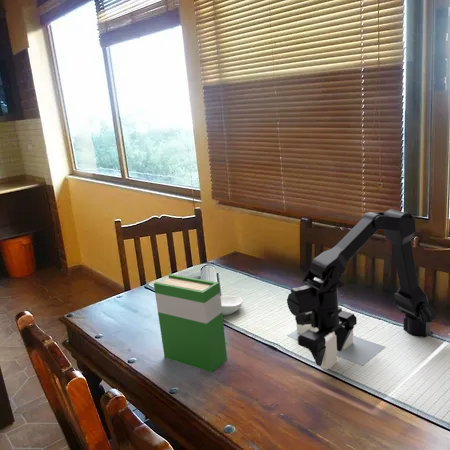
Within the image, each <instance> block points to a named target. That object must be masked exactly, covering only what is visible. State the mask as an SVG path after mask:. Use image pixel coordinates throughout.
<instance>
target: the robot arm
mask: <svg viewBox="0 0 450 450" xmlns="http://www.w3.org/2000/svg"><path fill="white" fill-rule="evenodd" d="M379 230H383V232H384V234H385V236H386V237H387V238H388V240H389V241H390V242H391V245H392V250H393V254H394V255H393V256H394V261H395V266H396V273H397V277H398V282H399V288H398V290H397V292H394V293H393V296H394V298H395V303H394V305H396V306H397V307H398V309H400V313H402V314H404V318H403V331H404V332H406V333H408V334H409V335H410V336H412V337H416V338H418V337H419V338H426V337H428V336H429V335H433V334H434V332H433V331H431V326H432V324H431V323H433V320H435V319H436V317H437V313H438V312H437V311H436V309H434V308H433V307H431V306H430V303H429V299H428V296H427V294H426V292H425V291H424V290H423V288H422V287H421V286H420V284H419V278H418V275H417V274H418V272H417V267H416V261H415V256H414V249H413V244H412V240H413V237H414V235H415V234H416V219H415V216H414V215H413V214H411V213H409V212H405V211H401V210H396V209H391V208H390V209H388V210H386V211H383V212H382V211H375V212H372V211H369V212H365V213H364V214H363V215H362V217H361V219H360V220H359V221H358V223H356V225H354V226H353V228H352V229H350V230H349V232H347V234H345V236H343V238H342V239H340V240H339V241H338V243H336V245H335V246H333V247H332V248H330V249H327V250H325V251H323V252H321V253H320V254H319V255H317V256H316V257H314V258H313V260H312V261H311V262H310V263H309V264H310V267H309V268H308V270H307V272H306V274H305V275H304V278H303V280H302V284H304V285H302V286H299V287H293V288H291V289H290V293H288V296H287V298H286V304H287V307H288V310H289V311H290V313H291V314H292V315H293V316H295V317H294V320H295V322H296V325H297V324H298V325H306V324H311V327H313V328H318V330H319V331H317V332H313V331H310V330H307V331H306V332H304V333H302V334H301V335H300V336H298V340H297V345H298V346H300V347H303V348H305V349H308V350H309V352H310V353H311V355H312V357H313V359H314V362H315V363H316V366H318V367H321V364H322V361H323V357H324V353H325V350H326V346H324V345H325V343H326V341H325V337H326V336H328V335H329V334H331V333H332V332H335V335H336V339H337V350H338V351H341V350H342V348H343V346H344V344H345V342H346V340H347V338H348V336H349V335H350V333H351V331H352V329H353V330H354V328H355V326H356V325H357V316H356V315H355V314H354V313H352V312H348V311H345V310H343V308H342V307H340V306H339V290H338V289H340V288H344V287H345V286H346V284H345V283H344V282H342V281H341V277H342V276H343V275H344V273H345V272H346V270H347V266H348V263H349V261H350V259H352V257H354V256H355V255H356V253H357V252H358V251H359V250H360V249H361V248H362V247H363V246H364V245H365V244H367V242H368V241H369V240H371V238H372V237H373V236H374V235H375V234H376V233H377V232H378V231H379ZM315 277H316V278H318V279H319V280H321V281H323V282H321V283H319V282H317V281H315V280H314V278H315Z"/></svg>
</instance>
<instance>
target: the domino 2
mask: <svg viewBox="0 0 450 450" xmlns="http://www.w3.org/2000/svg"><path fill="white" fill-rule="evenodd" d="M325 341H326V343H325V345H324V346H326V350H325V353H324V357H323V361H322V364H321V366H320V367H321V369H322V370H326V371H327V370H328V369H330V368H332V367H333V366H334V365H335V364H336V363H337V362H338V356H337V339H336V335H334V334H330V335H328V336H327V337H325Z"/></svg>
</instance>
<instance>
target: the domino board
mask: <svg viewBox="0 0 450 450" xmlns="http://www.w3.org/2000/svg"><path fill="white" fill-rule="evenodd" d="M308 330H310V329H308ZM305 332H306V331H305ZM300 335H301V334H300V333H297V329H296V330H294V331H292V332H291V333H289V334H287V335H286V336H287V337H289V338H291V339H294V340H296V341H298V336H300ZM385 348H386V346H385V345H381V344H379V343H377V342H374V341H370V340H367V339H364V338H361V337H359V336H356V335H353V343H352V344H351V345H350V346H348V347H347V348H345V349H344V350H341V351H338V350H337V357H339V358H342V359H345V360H347V361H349V362H353V363H355V364H357V365H361V366H362V367H363V366H365V364H366V363H368V362H369V361H370V360H372V359H373V358H374V357H376V356H377V355H378V354H379V353H380V352H382V350H384V349H385Z"/></svg>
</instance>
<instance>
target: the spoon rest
mask: <svg viewBox="0 0 450 450" xmlns="http://www.w3.org/2000/svg"><path fill="white" fill-rule="evenodd" d="M220 297H221V306H222V315H223V316H228V315H231V314H233V313H235V312H237V311H238V310H239V309H240V308H241V307H242V305H243V302H244V300H243V299H242V298H241V297H239V296H234V295H220Z"/></svg>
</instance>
